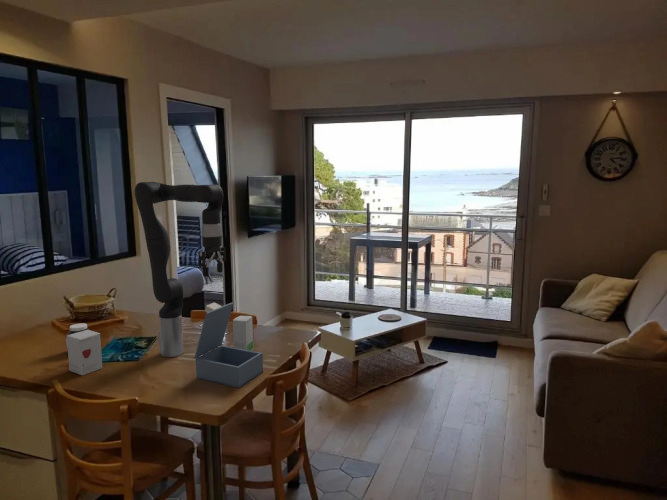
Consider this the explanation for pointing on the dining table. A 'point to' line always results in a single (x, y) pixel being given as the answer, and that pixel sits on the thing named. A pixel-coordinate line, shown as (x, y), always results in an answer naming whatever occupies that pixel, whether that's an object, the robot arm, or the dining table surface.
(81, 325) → the spread jar
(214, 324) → the carton flap
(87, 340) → the supplement box
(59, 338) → the dining table surface
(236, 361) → the carton
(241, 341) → the skincare box
